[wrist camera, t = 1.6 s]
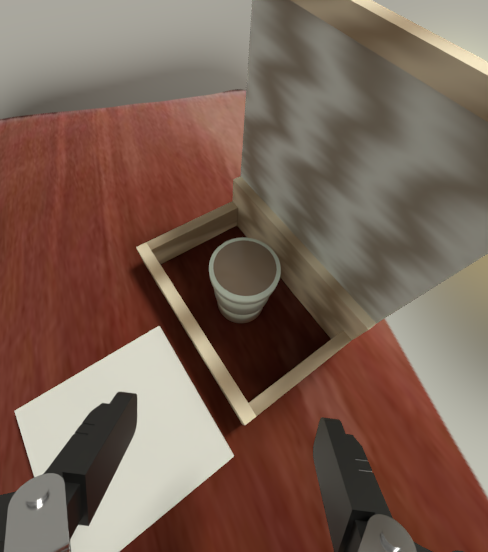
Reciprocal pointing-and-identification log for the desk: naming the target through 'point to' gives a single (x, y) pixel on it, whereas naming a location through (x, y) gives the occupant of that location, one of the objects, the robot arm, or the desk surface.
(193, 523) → the desk surface
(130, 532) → the concrete tile
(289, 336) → the desk surface
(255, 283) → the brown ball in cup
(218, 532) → the desk surface
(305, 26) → the cold frame
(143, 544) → the desk surface
